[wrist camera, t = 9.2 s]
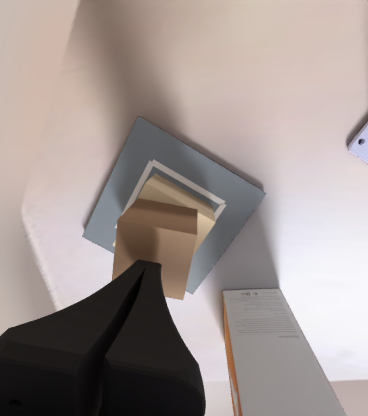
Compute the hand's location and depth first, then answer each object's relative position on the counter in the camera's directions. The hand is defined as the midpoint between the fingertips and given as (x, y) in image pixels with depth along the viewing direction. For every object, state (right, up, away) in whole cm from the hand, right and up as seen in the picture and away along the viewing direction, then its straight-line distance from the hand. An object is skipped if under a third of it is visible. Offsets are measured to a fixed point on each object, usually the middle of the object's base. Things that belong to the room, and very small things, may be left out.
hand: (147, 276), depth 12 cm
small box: (+10, -9, +13) cm, 19 cm away
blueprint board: (+1, +3, +10) cm, 10 cm away
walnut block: (0, +2, +5) cm, 6 cm away
